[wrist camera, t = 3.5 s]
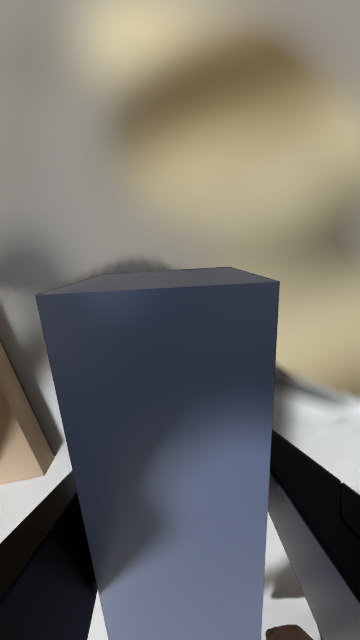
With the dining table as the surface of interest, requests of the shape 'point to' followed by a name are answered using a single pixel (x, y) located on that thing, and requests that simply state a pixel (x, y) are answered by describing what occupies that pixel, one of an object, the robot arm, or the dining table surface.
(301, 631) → the pottery mug
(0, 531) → the dining table surface
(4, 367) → the display cradle
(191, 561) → the tall slate-blue box
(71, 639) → the robot arm
